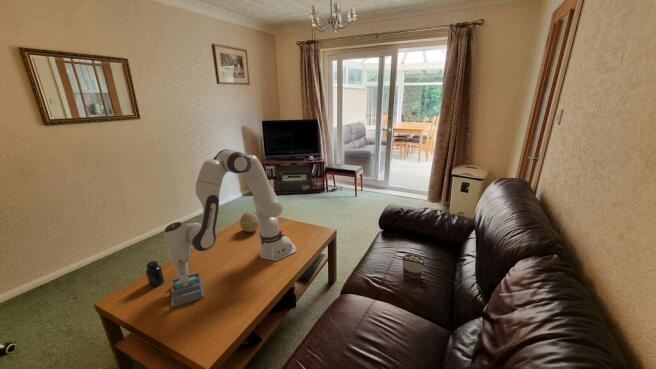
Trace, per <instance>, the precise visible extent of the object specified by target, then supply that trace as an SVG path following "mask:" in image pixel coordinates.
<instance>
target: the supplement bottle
mask: <svg viewBox="0 0 656 369" xmlns="http://www.w3.org/2000/svg"><path fill="white" fill-rule="evenodd" d="M145 275H146V278H147V281H148V285H149V287H152V288H156V287H159V286H161V285H163V283H164V282H165V277H164V273H163V270H162V266H161V265H159V263H158V261H156V260H153V261H149V262H148V263H147V264H146V270H145Z"/></svg>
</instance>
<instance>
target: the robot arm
mask: <svg viewBox="0 0 656 369" xmlns="http://www.w3.org/2000/svg"><path fill="white" fill-rule="evenodd" d="M228 172H230V173H232V174H242V175H243V176H244V179H245V181H246V183H247V186H248V189H249V190H250V192H251V194H252V195H253V196H252V200H253V204H254V208H255V212H256V213H255V214H256V216H257V217H258V220H259V225H258V227H259V242H260V250H259V258H261V259H263V260H268V261H269V260H271V261H273V262H277V261H279V260H282V259H283V258H286V257H288V256H291V255H293V254H295V253H297V247H296V245H295V244H294V243H293V241H291V239H290V238H289V237H288V236H286V234H285V233H284V232H283V231H282V230H281V229H280V226H279V219H278V217H279V216H280V215H281V214H282V212H283V205H282V203H281V202H280V200H279V198H278V196H277V194H276V193H275V190H274V189H273V187H272V185H271V183H270V181H269V179H268V176H267V174H266V171H265V169H264V167H263V165H262V163H261V161H260V159H259V158H258V157H257V155H253V154H247V155H246V154H245V153H243V152H240V151H238V150H235V149H227V148H225V149H222V150H220V151H219V152H218V153H217V154H216V155H215V156H214V157H213V158H211V159H206V160H204V162H203V163H202V166H201V168H200V170H199V173H198V176H197V179H196V183H195V190H194V191H195V195H196V196H197V198H198V200H199V201H200V204H201V205H202V216H201V217H202V219H201V223H200V222H195V221H194V222H191V223H190V222H189V223H185V222H181V221H175V222H173V223H169V225H167V226H166V227H165V229H164V231H163V232H164V233H163V234H164V241H165V245H166V248H167V254H168V257H169V261H170V263H171V264H174V265H175V266H176V271H177V278H179V282H180V284H182V283H183V284H184V286H187V285H188V281H189V278H188V274H189V266H188V262H189V260H190V259H191V257H192V254H191V249H190V246H192V247H193V248H194V249H195V250H196V251H198V252H205V251H208V250H210V249H211V248H212V247H213V246H214V245H215V243H216V241H217V236H216V235H217V234H216V226H217V222H218V221H217V220H218V213H219V206H220V195H221V194H220V193H221V187H222V184H223V179H224V177H225V176H226V174H228Z"/></svg>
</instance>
